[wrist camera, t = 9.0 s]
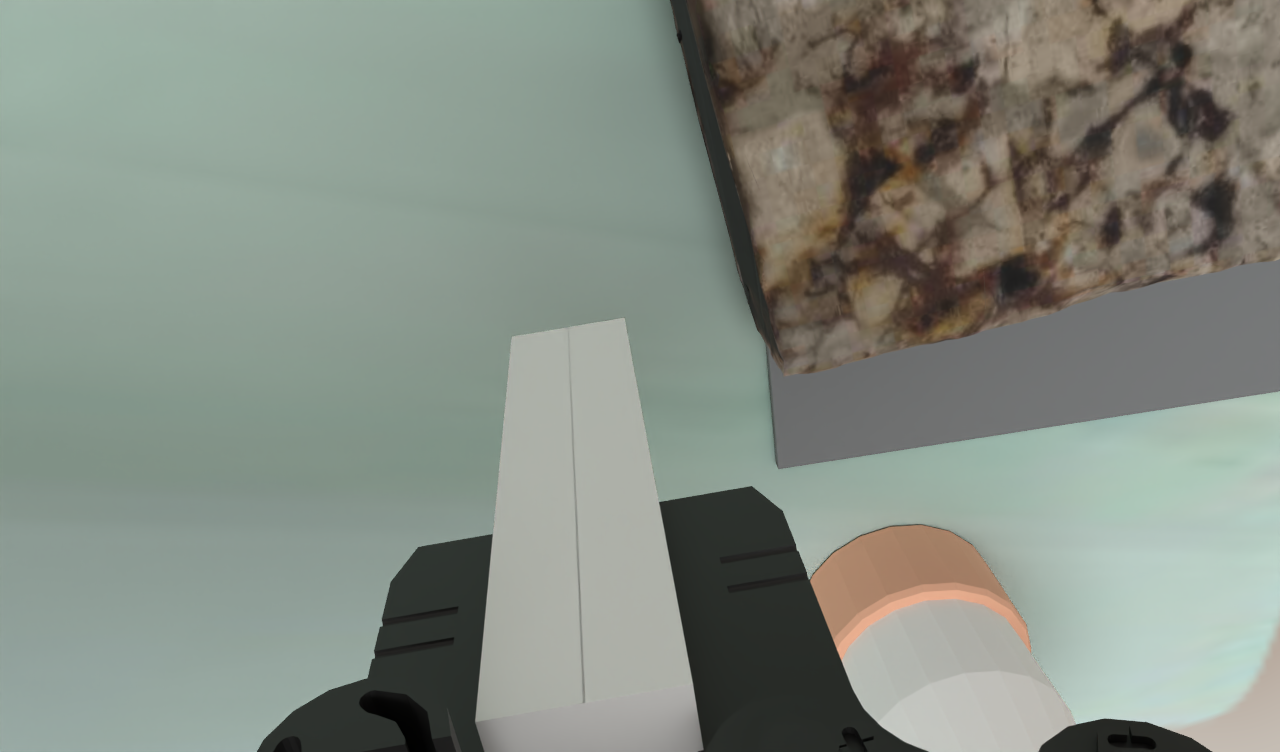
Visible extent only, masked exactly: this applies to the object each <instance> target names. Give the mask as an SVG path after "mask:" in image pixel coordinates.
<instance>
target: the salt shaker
mask: <svg viewBox="0 0 1280 752" xmlns="http://www.w3.org/2000/svg"><path fill="white" fill-rule="evenodd" d="M810 582H811V585H812V587H813V590H814V592H815V595H816V597H817V600H818V602H819V605H820V607H821V610H822V613H823V615H824V618H825V620H826V623H827V625H828V628H829V630H830V633H831V635H832V638H833V641H834V643H835V646H836V648H837V651H838V653H839V656H840V658H841V661H842V663H843V666H844V668H845V671H846V674H847V676H848V679H849V681H850V684H851V686H852V689H853V691H854V693H855V694H856V696H857V698H858V700H859V701H860V703H861V705H862V706H863V708H864V710H865V711H866V712H867V713H868V714H869V715H870V716H871V717H872V718H873V719H874V720H875V721H876V722H877V723H878V724H879V725H880V726H881V727H882V728H884V729H885V730H887V731H889V732H890V733H892V734H893V735H895V736H896V737H898V738H899V739H901V740H902V741H904V742H906V743H908V744H911V745H913V746H916V747H918V748H921V749H923V750H926V751H928V752H1038V751H1039V749H1040V747H1041V745H1042V744H1044V743H1045V742H1046V741H1048V740H1049V739H1051V738H1052V737H1054V736H1055V735H1056V734H1058V733H1059V732H1061V731H1062V730H1063V729H1065V728H1066V727H1068V726H1072V725H1076V723H1075V721H1074V718H1073V716H1072V714H1071V711H1070V709H1069V708H1068V707H1067V705H1066V704H1065V702H1064V701H1063V699H1062V698H1061V696H1060V695H1059V693H1058V692H1057V691H1056V689H1055V688H1054V686H1053V685H1052V683H1051V682H1050V680H1049V679H1048V677H1047V676H1046V674H1045V673H1044V672H1043V670H1042V669H1041V667H1040V666H1039V664H1038V663H1037V661H1036V660H1035V658H1034V657H1033V656H1032V654H1031V645H1030V640H1029V635H1028V631H1027V626H1026V623H1025V622H1024V620H1023V619H1022V617H1021V616H1020V614H1019V613H1018V611H1017V609H1016V608H1015V606H1014V605H1013V603H1012V602H1011V600H1010V599H1009V597H1008V596H1007V594H1006V593H1005V591H1004V590H1003V588H1002V587H1001V585H1000V584H999V582H998V581H997V579H996V577H995V576H994V574H993V573H992V571H991V570H990V568H989V567H988V565H987V564H986V563H985V561H984V560H983V558H982V557H981V556H980V554H979V553H978V552H977V550H976V549H975V548H974V546H973V545H972V544H970V543H968V542H967V541H965V540H963V539H962V538H960V537H958V536H957V535H955V534H954V533H952V532H950V531H946V530H942V529H937V528H933V527H928V526H924V525H912V526H895V527H888V528H885V529H882V530H879V531H876V532H872V533H869V534H866V535H863V536H860V537H858V538H857V539H855V540H853V541H852V542H850V543H849V544H847V545H845V546H844V547H842V548H841V549H839V550H837V551H836V552H834V553H833V554H832V555H831V556H830V557H829V558H828V559H827V560H826V561H825V562H824V564H823V565H822V566H821V567H820V568H819V569H818V570H817V571H816V572H815V573H814V575H813V576H812V578H811V580H810Z"/></svg>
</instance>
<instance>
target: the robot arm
mask: <svg viewBox="0 0 1280 752" xmlns="http://www.w3.org/2000/svg"><path fill="white" fill-rule="evenodd" d="M382 622H383V627H380V629H379V633H378V637H377V642H376V646H375V650H374V652H375V659H372V662H371V666H370V671H369V675H368V679H364V680H360V681H357V682H354V683H351V684H348V685H344V686H341V687H338V688H335V689H332V690H329V691H327V692H325V693H324V694H322V695H320V696H318V697H317V698H315V699H313V700H312V701H310V702H308V703H307V704H305V705H303V706H302V707H300V708H298V709H296V710H295V711H293V712H292V713H291V714H290V715H289V716H288V717H287V718H286V719H285V720H284V721H283V722H282V723H281V724H280V725H279V726H278V727H277V728H276V729H274V730H273V731H272V732H271V733H270V734H269V735H268V736H267V737H266V738H265V739H264V740H263V742H262V744H261V746H260V747H259V749H258V751H257V752H928V751H926V750H923V749H921V748H918V747H916V746H913V745H911V744H908V743H906V742H904V741H902V740H901V739H899V738H898V737H896V736H895V735H893V734H892V733H890V732H889V731H887V730H885V729H884V728H882V727H881V726H880V725H879V724H878V723H877V722H876V721H875V720H874V719H873V718H872V717H871V716H870V715H869V714H868V713H867V712H866V711H865V710H864V708H863V706H862V705H861V703H860V701H859V700H858V698H857V696H856V694H855V693H854V691H853V689H852V686H851V684H850V681H849V679H848V676H847V674H846V671H845V668H844V666H843V663H842V661H841V658H840V656H839V653H838V651H837V648H836V646H835V643H834V641H833V638H832V635H831V633H830V630H829V628H828V625H827V623H826V620H825V618H824V615H823V613H822V610H821V607H820V605H819V602H818V600H817V597H816V595H815V592H814V590H813V587H812V585H811V582H810V580H808V577H807V572H806V569H805V567H804V564H803V562H802V559H801V557H800V554H799V552H798V551H797V549H796V544H795V541H794V539H793V536H792V534H791V531H790V529H789V526H788V524H787V521H786V519H785V516H784V513H783V511H782V510H781V509H779V508H778V507H777V506H776V505H774V504H773V503H772V502H771V501H770V500H768V499H767V498H766V497H765V496H763V495H762V494H761V493H760V492H758V491H757V490H756V489H755V488H753V487H752V486H750V487H744V488H739V489H733V490H727V491H721V492H715V493H710V494H704V495H698V496H692V497H686V498H681V499H675V500H669V501H663V502H659V500H658V494H657V489H656V484H655V478H654V473H653V468H652V462H651V457H650V451H649V446H648V441H647V435H646V430H645V425H644V419H643V414H642V409H641V403H640V398H639V392H638V387H637V382H636V376H635V371H634V366H633V360H632V355H631V350H630V344H629V339H628V334H627V328H626V323H625V317H624V318H618V319H612V320H606V321H601V322H595V323H589V324H583V325H577V326H571V327H565V328H559V329H553V330H548V331H542V332H536V333H530V334H524V335H518V336H512V338H511V348H510V359H509V369H508V380H507V390H506V401H505V412H504V422H503V433H502V443H501V454H500V464H499V475H498V486H497V496H496V507H495V517H494V528H493V534H491V535H485V536H480V537H474V538H468V539H462V540H456V541H451V542H445V543H439V544H433V545H427V546H422V547H418V548H417V549H416V551H415V552H414V553H413V555H412V556H411V557H410V558H409V560H408V561H407V562H406V563H405V565H404V566H403V567H402V569H401V570H400V571H399V572H398V574H397V575H396V576H395V578H394V579H393V580H392V581H391V584H390V588H389V592H388V596H387V600H386V604H385V609H384V613H383V617H382ZM1038 752H1212V751H1210V750H1209V749H1207V748H1206V747H1204V746H1203V745H1201V744H1199V743H1198V742H1196V741H1195V740H1193V739H1192V738H1189V737H1187V736H1184V735H1181V734H1178V733H1176V732H1173V731H1170V730H1167V729H1164V728H1162V727H1159V726H1156V725H1153V724H1150V723H1147V722H1137V721H1126V720H1115V719H1100V720H1095V721H1091V722H1086V723H1081V724H1077V725H1072V726H1068V727H1066V728H1065V729H1063V730H1062V731H1061V732H1059V733H1058V734H1056V735H1055V736H1054V737H1052V738H1051V739H1049V740H1048V741H1046V742H1045V743H1044V744H1042V745H1041V747H1040V749H1039V751H1038Z"/></svg>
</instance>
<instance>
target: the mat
mask: <svg viewBox="0 0 1280 752" xmlns="http://www.w3.org/2000/svg"><path fill="white" fill-rule="evenodd" d="M766 350H767V362H768V373H769V385H770V396H771V408H772V420H773V431H774V443H775V454H776V464H777V466H778V469H782V468H788V467H795V466H801V465H808V464H814V463H820V462H827V461H833V460H840V459H846V458H853V457H859V456H866V455H872V454H878V453H885V452H891V451H898V450H904V449H911V448H917V447H923V446H930V445H936V444H943V443H949V442H956V441H962V440H969V439H975V438H981V437H988V436H994V435H1001V434H1007V433H1014V432H1020V431H1027V430H1033V429H1039V428H1046V427H1052V426H1059V425H1065V424H1072V423H1078V422H1084V421H1091V420H1097V419H1104V418H1110V417H1117V416H1123V415H1130V414H1136V413H1142V412H1149V411H1155V410H1162V409H1168V408H1175V407H1181V406H1188V405H1194V404H1200V403H1207V402H1213V401H1220V400H1226V399H1233V398H1239V397H1245V396H1252V395H1258V394H1265V393H1271V392H1278V391H1280V259H1279V260H1276V261H1270V262H1258V263H1251V264H1245V265H1239V266H1236V267H1233V268H1229V269H1226V270H1223V271H1220V272H1215V273H1208V274H1203V275H1199V276H1193V277H1188V278H1182V279H1177V280H1171V281H1165V282H1160V283H1155V284H1152V285H1149V286H1145V287H1142V288H1138V289H1134V290H1130V291H1125V292H1111V293H1108V294H1105V295H1102V296H1100V297H1097V298H1095V299H1092V300H1089V301H1085V302H1081V303H1078V304H1074V305H1072V306H1069V307H1067V308H1065V309H1063V310H1060V311H1058V312H1055V313H1053V314H1050V315H1047V316H1043V317H1038V318H1034V319H1030V320H1027V321H1024V322H1020V323H1016V324H1012V325H1007V326H1003V327H998V328H994V329H989V330H985V331H982V332H979V333H977V334H974V335H971V336H967V337H964V338H960V339H953V340H945V341H941V342H938V343H934V344H927V345H919V346H915V347H911V348H907V349H903V350H898V351H893V352H889V353H884V354H881V355H878V356H875V357H872V358H868V359H864V360H860V361H856V362H851V363H847V364H844V365H841V366H839V367H837V368H834V369H829V370H825V371H821V372H816V373H809V374H795V375H790V376H785V377H783V373H782V371H781V370H780V369H779V368H778V366H777V364H776V363H775V361H774V359H773V358H772V356H771V352H770V350H769V348H768V347H767V345H766Z"/></svg>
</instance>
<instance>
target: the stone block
mask: <svg viewBox="0 0 1280 752" xmlns="http://www.w3.org/2000/svg"><path fill="white" fill-rule="evenodd" d="M670 2H671V6H672V9H673V15H674V21H675V26H676V30H677V37H678V40H679V43H681V47H682V52H683V56H684V60H685V64H686V69H687V73H688V77H689V81H690V85H691V90H692V94H693V98H694V102H695V107H696V111H697V115H698V119H699V123H700V127H701V131H702V134H703V138H704V142H705V146H706V149H707V153H708V157H709V161H710V164H711V168H712V172H713V176H714V180H715V183H716V187H717V191H718V195H719V198H720V202H721V206H722V210H723V213H724V217H725V221H726V225H727V228H728V232H729V236H730V240H731V244H732V248H733V252H734V256H735V261H736V266H737V270H738V273H739V277H740V280H741V282H742V285H743V287H744V290H745V293H746V297H747V300H748V304H749V306H750V309H751V312H752V315H753V318H754V321H755V325H756V327H757V330H758V331H759V332H760V334H761V336H762V337H763V339H764V341H765V343H766V345H767V347H768V348H769V350H770V352H771V356H772V358H773V359H774V361H775V363H776V364H777V366H778V368H779V369H780V370H781V371H782V373H783V377H785V376H790V375H795V374H809V373H816V372H821V371H825V370H829V369H834V368H837V367H839V366H841V365H844V364H847V363H851V362H856V361H860V360H864V359H868V358H872V357H875V356H878V355H881V354H884V353H889V352H893V351H898V350H903V349H907V348H911V347H915V346H919V345H927V344H934V343H938V342H941V341H945V340H953V339H960V338H964V337H967V336H971V335H974V334H977V333H979V332H982V331H985V330H989V329H994V328H998V327H1003V326H1007V325H1012V324H1016V323H1020V322H1024V321H1027V320H1030V319H1034V318H1038V317H1043V316H1047V315H1050V314H1053V313H1055V312H1058V311H1060V310H1063V309H1065V308H1067V307H1069V306H1072V305H1074V304H1078V303H1081V302H1085V301H1089V300H1092V299H1095V298H1097V297H1100V296H1102V295H1105V294H1108V293H1111V292H1125V291H1130V290H1134V289H1138V288H1142V287H1145V286H1149V285H1152V284H1155V283H1160V282H1165V281H1171V280H1177V279H1182V278H1188V277H1193V276H1199V275H1203V274H1208V273H1215V272H1220V271H1223V270H1226V269H1229V268H1233V267H1236V266H1239V265H1245V264H1251V263H1258V262H1270V261H1276V260H1279V259H1280V0H670Z"/></svg>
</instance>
